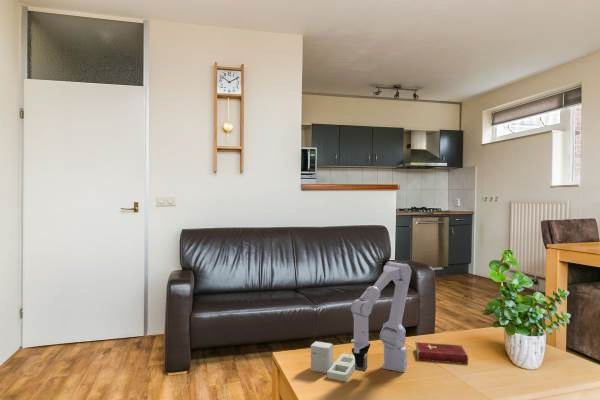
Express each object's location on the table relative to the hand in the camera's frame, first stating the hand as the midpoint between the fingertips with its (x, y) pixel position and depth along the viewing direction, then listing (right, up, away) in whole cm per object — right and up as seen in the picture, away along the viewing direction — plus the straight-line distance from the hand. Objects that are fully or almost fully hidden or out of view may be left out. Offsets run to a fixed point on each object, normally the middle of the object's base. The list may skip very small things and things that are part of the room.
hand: (361, 364), depth 152 cm
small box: (-15, -6, +8) cm, 18 cm away
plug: (0, -2, 0) cm, 2 cm away
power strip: (-5, -5, +11) cm, 13 cm away
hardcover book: (+40, -6, +22) cm, 46 cm away
